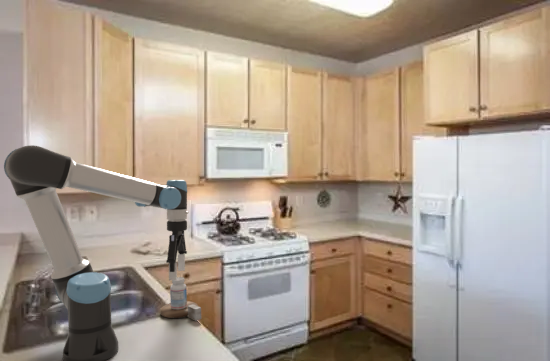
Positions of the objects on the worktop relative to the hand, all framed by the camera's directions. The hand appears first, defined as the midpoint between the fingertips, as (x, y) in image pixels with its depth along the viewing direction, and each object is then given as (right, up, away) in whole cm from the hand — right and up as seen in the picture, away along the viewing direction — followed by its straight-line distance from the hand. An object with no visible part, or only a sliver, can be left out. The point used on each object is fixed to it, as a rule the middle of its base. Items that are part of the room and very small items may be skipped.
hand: (177, 275), depth 146 cm
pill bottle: (0, -13, +1) cm, 13 cm away
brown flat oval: (+3, -14, -1) cm, 14 cm away
